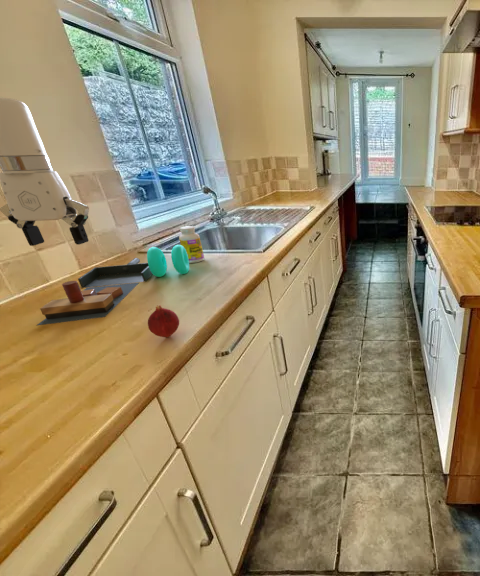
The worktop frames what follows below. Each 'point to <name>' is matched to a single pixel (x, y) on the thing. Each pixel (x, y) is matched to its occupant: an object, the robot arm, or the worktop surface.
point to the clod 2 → (111, 291)
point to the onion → (163, 322)
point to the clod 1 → (89, 292)
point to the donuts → (160, 265)
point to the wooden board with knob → (76, 303)
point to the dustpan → (109, 277)
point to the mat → (125, 289)
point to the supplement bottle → (191, 244)
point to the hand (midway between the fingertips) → (60, 243)
